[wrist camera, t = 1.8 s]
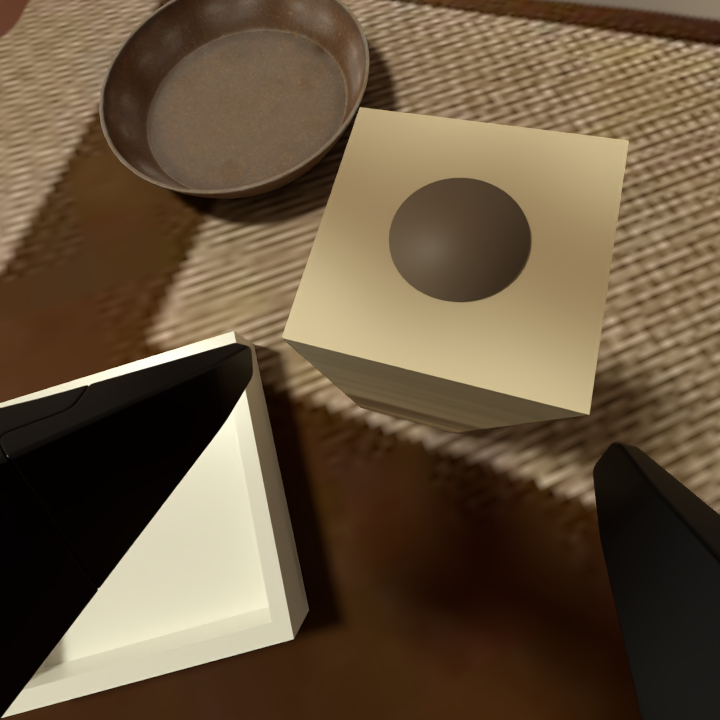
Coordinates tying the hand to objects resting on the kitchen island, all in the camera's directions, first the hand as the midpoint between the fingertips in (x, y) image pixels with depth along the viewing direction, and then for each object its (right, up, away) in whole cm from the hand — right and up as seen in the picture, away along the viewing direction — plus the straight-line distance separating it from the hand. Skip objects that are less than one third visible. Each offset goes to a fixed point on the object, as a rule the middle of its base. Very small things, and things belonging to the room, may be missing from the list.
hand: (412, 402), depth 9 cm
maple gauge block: (+2, 0, +10) cm, 10 cm away
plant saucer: (-9, +19, +16) cm, 26 cm away
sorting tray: (-12, -7, +10) cm, 17 cm away
